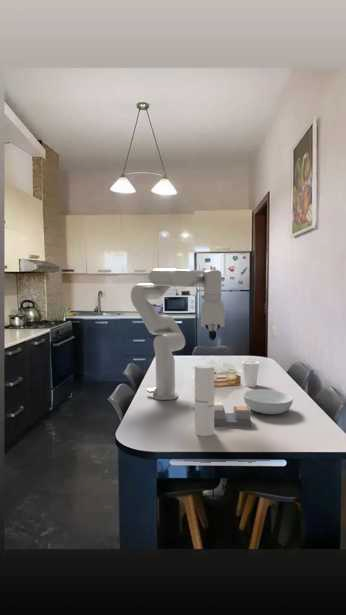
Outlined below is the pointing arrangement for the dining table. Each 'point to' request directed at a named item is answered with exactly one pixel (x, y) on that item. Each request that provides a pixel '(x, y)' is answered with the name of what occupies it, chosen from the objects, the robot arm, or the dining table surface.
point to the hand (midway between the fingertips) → (212, 339)
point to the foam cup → (250, 372)
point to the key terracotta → (241, 408)
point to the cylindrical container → (204, 399)
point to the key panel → (232, 418)
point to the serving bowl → (268, 401)
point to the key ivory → (218, 406)
